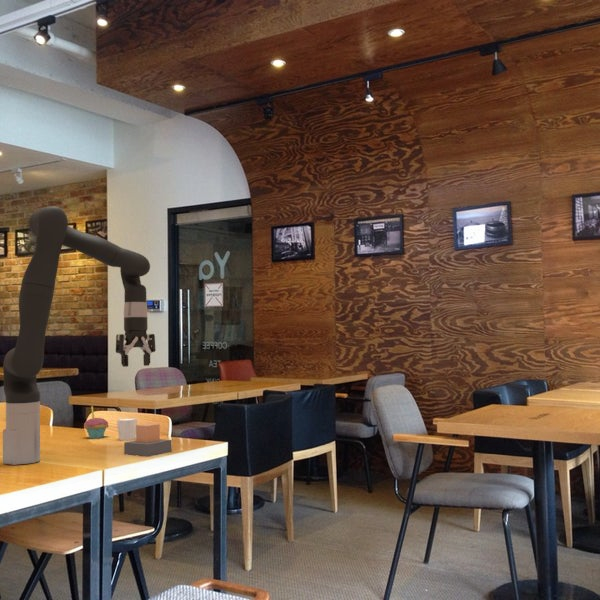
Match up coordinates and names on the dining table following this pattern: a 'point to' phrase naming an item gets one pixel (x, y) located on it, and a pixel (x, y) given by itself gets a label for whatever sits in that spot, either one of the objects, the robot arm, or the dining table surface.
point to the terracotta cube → (147, 433)
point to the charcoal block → (148, 447)
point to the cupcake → (95, 426)
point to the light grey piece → (127, 428)
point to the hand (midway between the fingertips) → (136, 366)
